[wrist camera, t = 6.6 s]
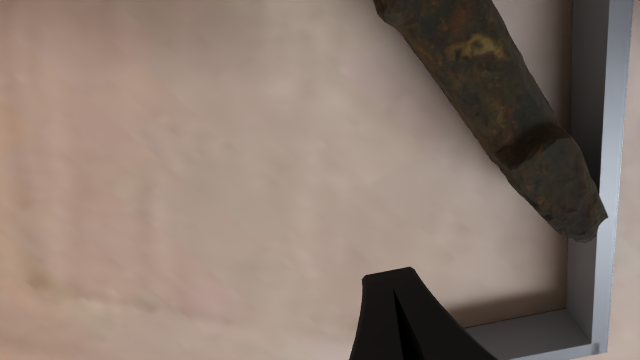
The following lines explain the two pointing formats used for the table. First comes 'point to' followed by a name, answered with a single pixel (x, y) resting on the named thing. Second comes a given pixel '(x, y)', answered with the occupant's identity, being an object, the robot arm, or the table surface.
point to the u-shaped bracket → (604, 167)
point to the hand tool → (502, 106)
